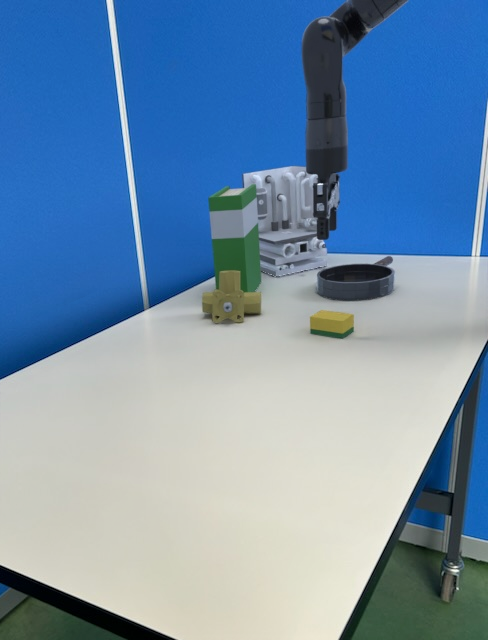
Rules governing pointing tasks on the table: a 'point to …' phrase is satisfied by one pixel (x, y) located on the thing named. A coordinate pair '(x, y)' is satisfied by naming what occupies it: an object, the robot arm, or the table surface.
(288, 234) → the grey pipe machine model
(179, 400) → the table surface
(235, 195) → the hardback book
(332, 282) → the pan
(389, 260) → the pan handle
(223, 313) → the ball valve
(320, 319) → the sponge
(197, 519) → the table surface
